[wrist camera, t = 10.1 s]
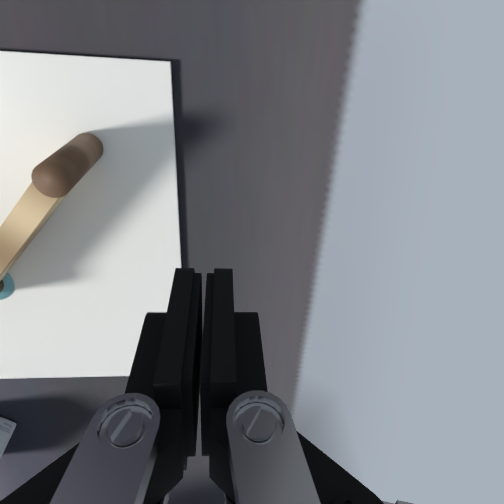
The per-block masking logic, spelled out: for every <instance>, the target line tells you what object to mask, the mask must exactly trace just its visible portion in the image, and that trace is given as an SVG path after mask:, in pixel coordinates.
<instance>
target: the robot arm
mask: <svg viewBox="0 0 504 504" xmlns="http://www.w3.org/2000/svg"><path fill="white" fill-rule="evenodd" d="M199 393H200V400H201V440H202V456H209V473H210V478H211V479H212V480H213V481H214V482H215V483H216V484H217V485H218V486H219V488H220V489H221V490H222V491H223V496H224V503H225V504H393V503H388V502H384V501H381V500H380V499H379V498H378V497H377V496H376V495H375V494H374V493H373V492H371V491H370V490H369V489H368V488H366V487H365V486H364V485H363V484H362V483H360V482H359V481H358V480H357V479H355V478H354V477H353V476H352V475H350V474H349V473H348V472H347V471H345V470H344V469H343V468H342V467H341V466H339V465H338V464H337V463H336V462H334V461H333V460H332V459H330V458H329V457H328V456H327V455H326V454H324V453H323V452H322V451H321V450H319V449H318V448H317V447H316V446H314V445H313V444H312V443H311V442H310V441H308V440H307V439H306V438H305V437H303V436H302V435H301V434H299V433H298V432H297V431H296V428H295V425H294V422H293V419H292V416H291V413H290V411H289V410H288V408H287V406H286V404H285V403H284V402H283V401H282V400H281V399H280V398H279V397H277V396H275V395H274V394H272V393H269V392H267V384H266V376H265V367H264V359H263V351H262V342H261V334H260V325H259V317H258V313H257V312H234V299H233V272H232V269H214V273H207V281H206V297H205V312H204V328H203V330H202V275H201V273H195V270H194V268H176V269H175V273H174V278H173V283H172V288H171V293H170V298H169V304H168V309H167V312H147V314H146V316H145V319H144V323H143V326H142V330H141V334H140V338H139V341H138V345H137V349H136V353H135V357H134V360H133V364H132V368H131V372H130V375H129V379H128V383H127V387H126V391H125V394H122V395H119V396H116V397H114V398H112V399H110V400H109V401H107V402H106V403H105V404H103V405H102V406H101V407H100V408H99V409H98V410H97V412H96V413H95V415H94V416H93V418H92V419H91V421H90V423H89V425H88V427H87V429H86V431H85V433H84V435H83V437H82V439H81V441H80V443H78V444H77V445H76V446H74V447H73V448H72V449H70V450H69V451H68V452H66V453H65V454H63V455H62V456H61V457H59V458H58V459H57V460H55V461H54V462H53V463H51V464H50V465H49V466H47V467H46V468H45V469H43V470H42V471H41V472H39V473H38V474H37V475H35V476H34V477H33V478H31V479H30V480H28V481H27V482H26V483H24V484H23V485H22V486H20V487H19V488H18V489H16V490H15V491H14V492H12V493H11V494H10V495H8V496H7V497H6V498H4V499H3V500H2V501H0V504H167V503H168V499H169V491H170V490H171V489H172V488H173V487H174V486H175V485H176V484H177V483H178V482H179V481H180V480H181V479H182V478H183V470H186V468H187V457H188V456H195V454H196V440H197V424H198V408H199ZM395 504H412V503H408V502H403V501H397V502H396V503H395Z"/></svg>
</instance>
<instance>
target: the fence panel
mask: <svg viewBox="0 0 504 504" xmlns="http://www.w3.org/2000/svg"><path fill="white" fill-rule="evenodd" d="M102 155H103V145H102V143H101V141H100V140H99V139H98V138H97V137H96V136H94V135H93V134H90V133H81V134H79V135H77V136H76V137H74V138H73V139H72V140H70V141H69V142H68V143H66V144H65V145H64V146H62V147H61V148H60V149H58V150H57V151H56V152H54V153H53V154H52V155H50V156H49V157H48V158H46V159H45V160H44V161H42V162H41V163H40V164H38V165H37V166H36V167H35V168H34V169H33V171H32V174H31V178H32V182H31V184H30V185H29V187H28V188H27V190H26V191H25V192H24V194H23V195H22V197H21V198H20V199H19V201H18V202H17V204H16V205H15V207H14V208H13V209H12V211H11V212H10V214H9V215H8V216H7V218H6V219H5V221H4V222H3V224H2V225H1V226H0V281H1V280H2V279H3V277H4V276H5V275H6V274H7V272H8V271H9V270H10V269H11V267H12V266H13V265H14V263H15V262H16V261H17V259H18V258H19V257H20V256H21V254H22V253H23V252H24V250H25V249H26V248H27V246H28V245H29V244H30V242H31V241H32V240H33V239H34V237H35V236H36V235H37V233H38V232H39V231H40V229H41V228H42V227H43V226H44V224H45V223H46V222H47V220H48V219H49V218H50V216H51V215H52V214H53V212H54V211H55V210H56V209H57V207H58V206H59V205H60V203H61V202H62V201H63V199H64V198H65V197H66V196H67V194H68V193H69V192H70V190H71V189H72V188H73V187H74V186H75V185H76V184H77V183H78V182H79V181H80V179H81V178H82V177H83V176H84V175H85V174H86V173H87V172H88V171H89V170H90V169H91V168H92V167H93V165H94V164H95V163H96V162H97V161H98V160H99V159H100V158H101V157H102Z"/></svg>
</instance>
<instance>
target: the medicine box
mask: <svg viewBox="0 0 504 504" xmlns="http://www.w3.org/2000/svg"><path fill="white" fill-rule="evenodd" d="M16 425H17V424H16V423H15V422H12V421H10V420H8V419H6V418H3V417H0V458H1V456H2V454H3V452H4V450H5V448H6V446H7V444H8V442H9V440H10V438H11V436H12V434H13V432H14V430H15V427H16Z"/></svg>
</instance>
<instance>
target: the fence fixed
mask: <svg viewBox="0 0 504 504" xmlns="http://www.w3.org/2000/svg"><path fill="white" fill-rule="evenodd" d="M3 288H4V282H3V280H1V281H0V292H1V291H2V290H3Z"/></svg>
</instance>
